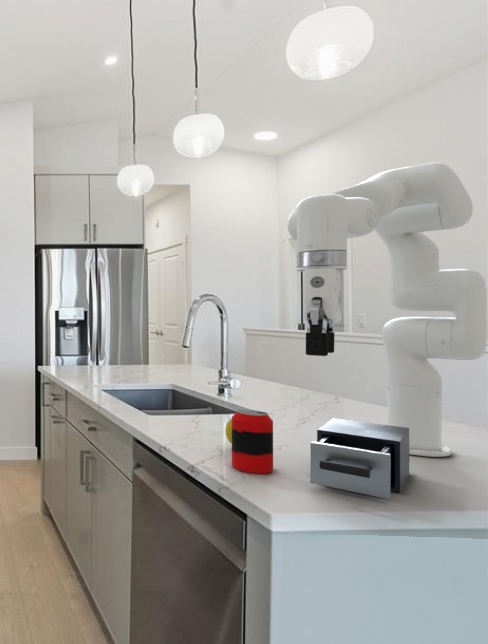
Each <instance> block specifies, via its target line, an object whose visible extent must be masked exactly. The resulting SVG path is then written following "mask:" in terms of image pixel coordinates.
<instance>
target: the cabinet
mask: <svg viewBox="0 0 488 644" xmlns="http://www.w3.org/2000/svg"><path fill="white" fill-rule="evenodd" d="M326 435H331V436H338V437H344V438H351V439H358V440H364V441H371V442H378V443H385V444H391V445H395V446H394V480H393V482H392V484H391V485H390V492H392V493H398V494H401V493H402V490H403V489H404V486H405V485H406V482H407V480H408V478H409V476H410V454H409V428H406V427H398V426H390V425H387V424H383V423H375V422H366V421H360V420H359V421H357V420H350V419H343V418H336V417H335V418H334V417H333V418H331V419H330V420H329V421H327V422H325V423H324V424H323V425H321V426H320V427H318V428H317V429H316V442H319V441H320V440H321V439H322V438H324V437H325V436H326Z"/></svg>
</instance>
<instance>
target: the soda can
mask: <svg viewBox="0 0 488 644" xmlns="http://www.w3.org/2000/svg"><path fill="white" fill-rule="evenodd" d="M231 419H232V444H231V465H232V467H233V468H234V469H236V470H238V471H240V472H244V473H249V474H255V475H257V474H258V475H266V474H267V475H268V474H271V473H272V472H273V471H274V420H273V419H272V418H271V417H270V415H269V414H268V413H267V412H265V411H262V410H255V409H238V410H236V412H234V414H233V415H232V416H231Z"/></svg>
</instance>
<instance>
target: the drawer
mask: <svg viewBox="0 0 488 644" xmlns="http://www.w3.org/2000/svg"><path fill="white" fill-rule="evenodd" d="M394 446H395V445H391V444H385V443H378V442H371V441H364V440H358V439H351V438H344V437H338V436H331V435H326V436H325V437H324V438H322V439H321V440H320V441H319V442H317V441H310V484H314V485H318V486H324V487H329V488H333V489H337V490H343V491H348V492H352V493H357V494H360V495H361V494H362V495H366V496H371V497H376V498H381V499H386V500H391V491H390V485H391V484H392V482H393V480H394Z"/></svg>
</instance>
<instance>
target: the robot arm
mask: <svg viewBox="0 0 488 644" xmlns="http://www.w3.org/2000/svg"><path fill="white" fill-rule="evenodd" d="M473 211H474V209H473V201H472V198H471V196H470V194H469V193H468V190H467V189H466V188H465V186H464V184H463V183H462V181H461V179H460V178H459V176H458V174H457V173H456V172H455V171H454V169H452V167H450V166H449V165H447V164H445V163H443V162H437V161H433V162H428V163H422V164H417V165H411V166H404V167H399V168H394V169H389V170H384V171H382V172H379V173H377V174H375V175H373V176H371V177H369V178H368V179H365V180H363V181H361V182H359V183H358V184H355V185H352V186H351V185H350V186H348V187H344V188H342V189H339V190H336V191H333V192H330V193H327V194H326V193H324V194H317V195H311V196H308V197H305V198H303V199H301V200H300V201H299V202H298V204H297V206H296V207H295V208H294V209H293V210H292V211H291V212H290V214H289V217H288V219H287V230H288V233H289V235H290V236H291V238H292V239H293V240H295V241H296V272H303V285H302V286H303V289H302V290H303V291H302V292H303V293H302V296H303V297H302V301H303V302H302V303H303V306H302V307H303V308H302V309H303V319H304V321H305V322H307V324H306V333H305V354H306V356H317V357H327V356H328V355H329V354H333V353H335V331H334V324H338V323H341V321H342V283H341V272H340V271H345V270H347V268H348V267H347V266H348V239H353V238H359V237H364V236H367V235H369V234H371V233H372V232H373V231H375V232H376V233H377V236H379V238H380V239H381V240H382V242H383V243H384V245H385V247H386V248H387V250H388V253H389V273H390V274H389V290H390V291H389V292H390V293H389V294H390V301H391V304H392V306H393V307H395V308H396V309H397V310H401V311H408V312H451V313H453V314H454V315H455V317H441V316H439V317H438V316H436V317H435V316H402V317H396V318H392V319H390V320H388V321H387V322H385V323H384V325H383V327H382V330H381V339H382V345H383V349H384V354H385V361H386V425H390V426H398V427H406V428H409V455H412V456H418V457H428V458H429V457H431V458H432V457H433V458H441V457H442V458H444V457H449V456H451V455H452V449H451V448H450V447H448V446H445V445H442V420H443V419H442V417H443V416H442V410H443V409H442V408H443V407H442V405H443V403H442V401H443V400H442V399H443V398H442V397H443V395H442V393H443V392H442V388H443V387H442V385H443V384H442V383H443V382H442V381H443V380H442V377H441V373H440V372H439V371H438V370H437V368H436V367H435V366H434V365H433V364H432V363H431V362H430V361H429V360H428V359H438V360H453V361H474V360H478V359H480V358H481V357H483V356H484V354H485V353H486V350H487V344H488V295H487V294H488V292H487V284H486V282H485V278H484V277H483V275H482V274H481V273H480V272H478V271H476V270H473V269H468V268H456V269H455V268H454V269H453V268H450V269H441V268H440V249H439V247H438V245H437V244H436V243H435V242H434V241H433V240H432V239H431V238H430V237H428V236H427V235H426V234H424V233H425V232H434V231H443V230H444V231H445V230H454V229H458V228H461V227H463V226H465V225H466V224H467V223H469V221H470V220H471V218H472V216H473Z"/></svg>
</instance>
